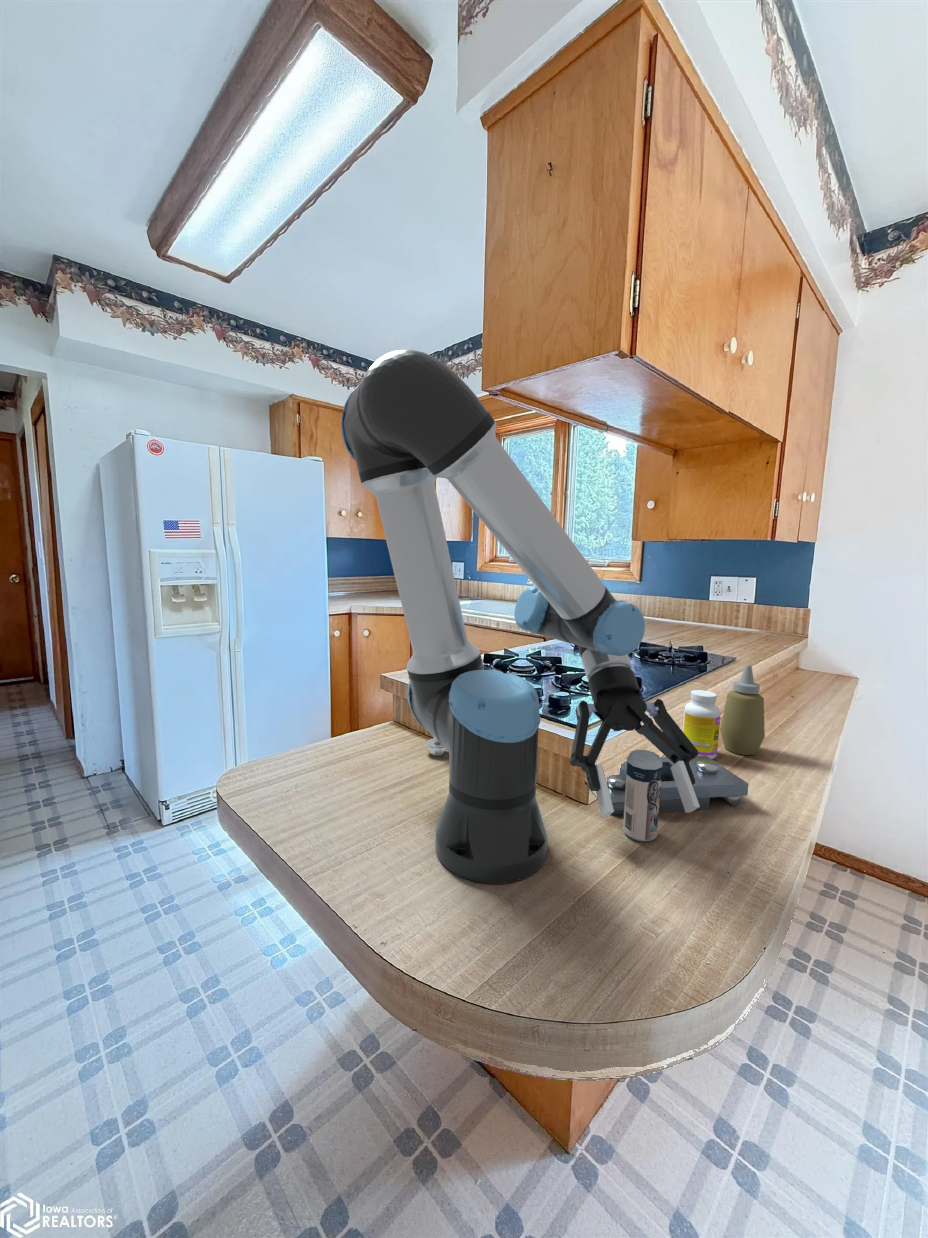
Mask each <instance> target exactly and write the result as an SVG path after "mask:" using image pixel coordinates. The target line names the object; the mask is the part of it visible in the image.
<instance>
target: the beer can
mask: <svg viewBox="0 0 928 1238" xmlns="http://www.w3.org/2000/svg"><path fill="white" fill-rule="evenodd" d="M660 757H661V756H660V754H659V755H658V754H657V753H656V752H654V751H650V750H647V749H634V750H631V751H630V753H629V754H628V756H627V757H626V759H627V774H626V789H625V804H624V814H623V822H622V831H623V833H624V834H625V835H627V836H628V837H629V838H631V839H632V840H635V841H637V842H638V841H639V842H651V841H653V840H655V839H656V838H657V837H658V825H659V824H658V823H659V813H660V812H659V800H660V787H661V773H662V765H663V764H662V762H661V760H660Z"/></svg>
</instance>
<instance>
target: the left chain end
mask: <svg viewBox="0 0 928 1238" xmlns="http://www.w3.org/2000/svg"><path fill="white" fill-rule="evenodd" d="M665 781H675V780H674V778H673V777H672V776H671V775H670V774H669V773H661V782H665ZM607 786H608V790H609V794H610V798H611V802H612V806H613V810H614V812H613V813H611V814H610V815H624V804H625V789H626V778H625V777H623V776H620V775H611V776H609V777H607ZM596 799H597V800H598V798H597V797H596ZM710 799H711V797H709V798H697V800H698V803H699V806H700V807H699V808H697V809H695V810H694V811H701V810H710V801H711V800H710ZM681 811H682V812H683V811H684V812H685V809H684V806H683V803H682V800H681V799H670V800H659V813H663V812H681ZM610 815H609V816H610Z"/></svg>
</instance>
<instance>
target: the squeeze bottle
mask: <svg viewBox="0 0 928 1238" xmlns="http://www.w3.org/2000/svg"><path fill="white" fill-rule="evenodd" d="M732 689H733V690H731V691H729V692H728V693H727V694H726V700H725V703H724V707H723V708H724V709H723V714H722V718H721V721H720V727H719V733H720V736H721V739H722V743H723V746H724V749H725V750H727V751H728V752H731V753H734V754H736V755H737V754H738V755H744V756H754V755H756V754H757V753H758V751H759V749H760V747H761V745H762V743H763V741H764V739H765V736H766V735H765V730H766V729H765V698H764V697H763V696H762V695H761V694H760V689H761V685H760V684H759V683H757V682H755V679H754V674H753V667H752V665H744V668H743V669H742V673H741V676H740V678H739V680H735V681H734V682H733V687H732Z"/></svg>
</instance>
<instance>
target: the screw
mask: <svg viewBox="0 0 928 1238" xmlns="http://www.w3.org/2000/svg"><path fill="white" fill-rule="evenodd" d="M432 737H433V738H429V739H428V740H427V741H426V742H425V743H424V744H425V747H426V748H427V749H430V751H429V752H430V755H432V756H434V757H440V756H443V755H444V754H445V750H447V749H446V748H445V747H444V746H443V745H442V744H441V743H440V742H439V741H438V740H437V739H436V738H435V737H434V736H433V735H432Z"/></svg>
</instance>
